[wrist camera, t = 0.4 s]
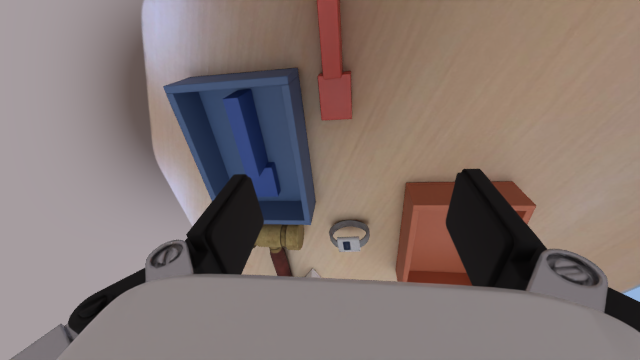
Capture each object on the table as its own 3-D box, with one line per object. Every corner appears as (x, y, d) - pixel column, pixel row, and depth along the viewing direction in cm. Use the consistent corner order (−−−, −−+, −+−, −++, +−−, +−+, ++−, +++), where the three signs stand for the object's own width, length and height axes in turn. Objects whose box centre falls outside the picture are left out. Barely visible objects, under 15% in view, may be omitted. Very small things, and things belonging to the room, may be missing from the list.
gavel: (311, 305, 48) (264, 301, 50) (314, 283, 52) (270, 281, 53) (296, 237, 36) (234, 235, 37) (301, 215, 39) (244, 214, 41)
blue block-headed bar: (230, 90, 29) (214, 99, 26) (258, 88, 28) (245, 97, 25) (259, 190, 37) (249, 207, 34) (281, 190, 37) (273, 207, 33)
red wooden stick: (308, -44, 22) (300, -56, 19) (348, -50, 21) (346, -64, 18) (323, 116, 30) (319, 127, 27) (351, 114, 29) (351, 126, 26)
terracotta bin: (406, 182, 34) (413, 205, 30) (512, 181, 32) (536, 205, 27) (395, 270, 44) (399, 296, 40) (475, 273, 42) (488, 301, 38)
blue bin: (190, 77, 29) (162, 86, 25) (297, 67, 27) (287, 75, 23) (235, 202, 40) (221, 223, 36) (315, 202, 38) (310, 225, 34)
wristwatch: (368, 215, 38) (369, 238, 34) (369, 227, 39) (370, 252, 35) (329, 217, 39) (326, 240, 35) (332, 229, 41) (329, 252, 36)
